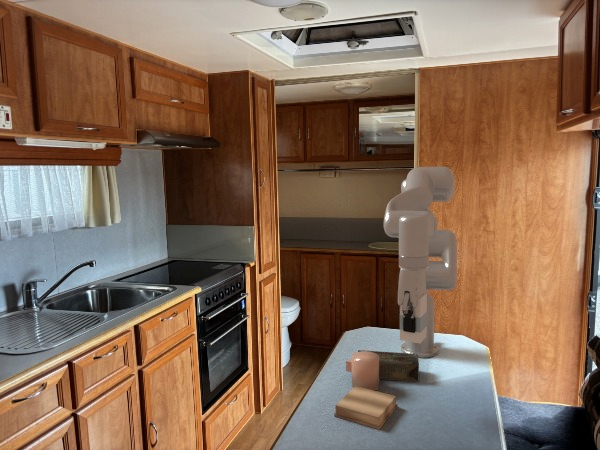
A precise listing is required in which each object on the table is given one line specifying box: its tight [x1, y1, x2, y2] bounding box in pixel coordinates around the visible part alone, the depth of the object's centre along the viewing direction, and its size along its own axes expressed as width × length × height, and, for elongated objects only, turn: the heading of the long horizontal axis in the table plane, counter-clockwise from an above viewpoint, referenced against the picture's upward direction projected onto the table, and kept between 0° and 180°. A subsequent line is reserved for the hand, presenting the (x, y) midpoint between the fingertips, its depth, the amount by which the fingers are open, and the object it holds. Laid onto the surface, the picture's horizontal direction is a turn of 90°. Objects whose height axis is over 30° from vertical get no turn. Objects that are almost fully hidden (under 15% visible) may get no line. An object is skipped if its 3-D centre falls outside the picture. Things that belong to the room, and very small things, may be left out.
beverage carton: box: [357, 349, 420, 382], centre depth 146 cm, size 8×19×7 cm, turn 79°
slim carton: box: [399, 293, 427, 344], centre depth 126 cm, size 6×6×13 cm
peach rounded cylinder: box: [345, 350, 380, 391], centre depth 139 cm, size 8×10×9 cm
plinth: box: [333, 386, 398, 430], centre depth 125 cm, size 13×13×3 cm
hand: (413, 327), depth 126 cm, fingers closed on slim carton, 5 cm apart
